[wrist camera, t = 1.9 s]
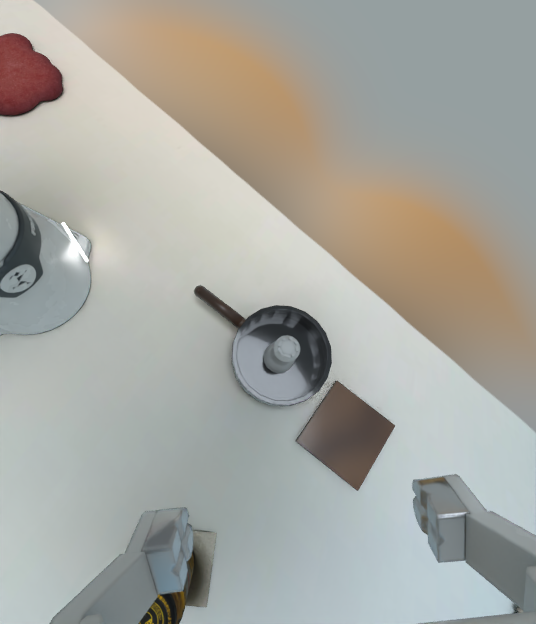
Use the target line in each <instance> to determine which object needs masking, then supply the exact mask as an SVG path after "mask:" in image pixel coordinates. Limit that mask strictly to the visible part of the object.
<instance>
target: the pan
mask: <svg viewBox="0 0 536 624" xmlns="http://www.w3.org/2000/svg"><path fill="white" fill-rule="evenodd" d="M286 335H288V336H292V337H294V338H295V339H296V340H297V341H298V343H299V345H300V353H299V355H298V357H297V358H296V359H295V361H294V364H293V365H292V367H291V368H290V369H289V370H288V371H286V372H283V373H276V372H273V371H271V370H270V369H269V368H267V366H266V364H265V363H264V357H263V356H264V352H265V349H266V348H267V347H268V345H270V344H271V343H273V342H275V341H277V339H278V338H280V337H281V336H286ZM331 364H332V360H331V346H330V343H329V340H328V338H327V335H326V333H325V331H324V330H323V328H322V327H321V326H320V324H319V323H318V322H317V321H316V320H315V319H314V318H313V317H311V316H310V315H309V314H307V313H306V312H304V311H302V310H299V309H297V308H294V307H290V306H277V305H276V306H271V307H267V308H263V309H260V310H259V311H257V312H256V313H254V314H252V315H251V316H249V317H248V318H247V319H246V320H245V322H244V323H243V324H242V325H241V326H240V328H239V329H238V331H237V334H236V337H235V339H234V342H233V349H232V366H233V370H234V374H235V377H236V379H237V381H238V382H239V384H240V385H241V387H242V388H243V390H244V391H245V392H246V393H248V394H249V395H250V396H251V397H253V398H254V399H255V400H257V401H259V402H262V403H265V404H267V405H271V406H290V405H294V404H297V403H300V402H303V401H306V400H307V399H309V398H310V397H311V396H313V395H314V394H315V393H317V392H318V391H319V390H320V388H321V387H322V385H323V384H324V382H325V381H326V379H327V378H328V374H329V371H330V367H331Z"/></svg>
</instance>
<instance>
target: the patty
mask: <svg viewBox="0 0 536 624" xmlns="http://www.w3.org/2000/svg"><path fill="white" fill-rule="evenodd" d="M62 91H63V87H62V75H61V73H60V71H59V70H58V69H57V68H56V67H55V66H53V65H52V64H51V62H50V60H49V59H48V58H47V57H46V56H44V55H42V54H40V53H38V52H35V51H34V50H32V45H31V42H30V41H29V40H28V39H27V38H26V37H24V36H22V35H20V34H14V33H10V34H5V35H2V36H0V114H1V115H18V114H22V113H25V112H27V111H30V110H31V109H33V108H34V107H35V106H36V105H38V104H39V102H41V101H48V100H53V99H56V98H57V97H59V96H60V95H61V93H62Z"/></svg>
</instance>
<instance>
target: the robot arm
mask: <svg viewBox="0 0 536 624" xmlns="http://www.w3.org/2000/svg"><path fill="white" fill-rule="evenodd" d="M75 239H76V240H75ZM90 249H91V242H90V240H89V239H87V238H86V237H85V236H83V235H82V234H80V233H78V232H76V231H74V230H72V229H70V228H68V227H67V226H66V224H65V223H64V222H63V223H62V224H60V223H58V222H56V221H54V220H52V219H50V218H48V217H46V216H44V215H42V214H40V213H38V212H36V211H34V210H32V209H30V208H28V207H26V206H24V205H22V204H20V203H18V202H17V201H15V200H14V199H13V198H11V197H10V196H9V195H7V194H6V193H4V192H3V191H0V335H2V334H22V335H30V334H38V333H42V332H46V331H49V330H52V329H54V328H56V327H58V326H60V325H62V324H63V323H65V322H66V321H68V320H69V319H70V318H71V317H73V316H74V315H75V314H76V313H77V311H78V310H79V309H80V308H81V306H82V305H83V303H84V302H85V300H86V298H87V295H88V293H89V289H90V283H91V275H90V269H89V265H88V261H89V260H88V257H89V254H90ZM412 489H413V491H414V493H415V495H416V496H415V498H414V499H413V508H414V512H415V516H416V519H417V522H418V524H419V526H420V528H421V530H422V531H423V532H424V533H426V534H427V535H428V544H429V546H430V548H431V550H432V551H433V553H434V555H435V557H436V559H437V561H438V563H440V562H453V561H465V560H466V563H467V564H469V565H470V566H471V567H472V568H473V569H475V570H476V571H477V572H478V573H479V574H480V575H482V576H483V577H484V578H485V579H486V580H488V581H489V582H490V583H491V584H492V585H494V586H495V587H496V588H497V589H498V590H499V591H501V592H502V593H503V594H504V595H505V596H507V597H508V598H509V599H510V600H511V601H513V602H514V603H515V604H516V605H517V606H518V607H520V608H521V609H522V610H523V612H522V613H513V614H503V615H494V616H484V617H475V618H466V619H456V620H447V621H437V622H428V623H418V624H536V535H534V534H532V533H530V532H528V531H527V530H525V529H523V528H521V527H519V526H518V525H516V524H514V523H512V522H510V521H509V520H507V519H505V518H503V517H501V516H500V515H498V514H496V513H494V512H492V511H490V512H487V510H486V509H485V508H484V507H483V505H482V504H481V503H480V502H479V500H478V499H477V498H476V497H475V495H474V494H473V493H472V492H471V490H470V489H469V488H468V487H467V485H466V484H465V483H464V481H463V480H462V479H461V478H460V476H458V475H457V474H454V475H446V476H442V477H441V476H440V477H432V478H424V479H416V480H413V483H412ZM188 518H189V514H188V510H187V508H185V507H184V508H173V509H162V510H155V511H145V512H144V513H143V514H142V515H141V518H140V520H139V522H138V524H137V527H136V529H135V531H134V533H133V536H132V538H131V540H130V542H129V545H128V547H127V549H126V551H125V554H120V555H119V556H118V557H117V558H116V559H115V560H114V561H113V562H112V563H111V564H110V565H108V566H107V567H106V568H105V569H104V570H103V571H102V572H101V573H100V574H99V575H98V576H97V577H96V578H95V579H94V580H93V581H91V582H90V583H89V584H88V585H87V586H86V587H85V588H84V589H83V590H82V591H81V592H80V593H79V594H78V595H77V596H76V597H74V598H73V599H72V600H71V601H70V602H69V603H68V604H67V605H66V606H65V607H64V608H63V609H62V610H61V611H60V612H58V613H57V614H56V615H55V616H54V617H53V619H52V620H51V622H50V624H138V623H139V622H140V621H141V619H142V618H143V616H144V615H145V614H146V612H147V611H148V609H149V608H150V607H151V605H152V604H153V602H154V601H155V600H156V598H157V597H158V596H157V595H160V594H167V593H174V592H181V591H183V589H184V585H185V581H186V577H187V572H188V569H187V564H186V563H187V561H188V560H189V559H190V558H191V555H192V550H193V530H192V526H191V525H190V524H189V523H187V522H188Z"/></svg>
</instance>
